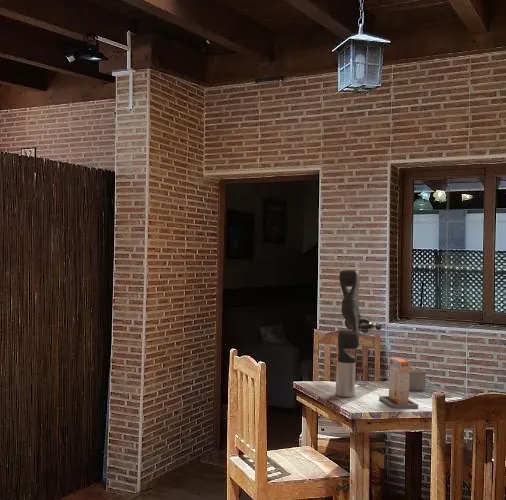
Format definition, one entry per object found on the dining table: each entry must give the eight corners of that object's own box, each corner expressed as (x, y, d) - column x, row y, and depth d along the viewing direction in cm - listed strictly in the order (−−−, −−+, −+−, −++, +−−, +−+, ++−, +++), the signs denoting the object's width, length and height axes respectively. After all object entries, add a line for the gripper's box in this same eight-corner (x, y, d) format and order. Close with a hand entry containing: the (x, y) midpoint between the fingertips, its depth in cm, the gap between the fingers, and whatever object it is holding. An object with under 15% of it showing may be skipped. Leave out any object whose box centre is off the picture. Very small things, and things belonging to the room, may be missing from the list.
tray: (392, 408, 316) (392, 404, 316) (379, 399, 336) (379, 396, 336) (418, 408, 318) (418, 404, 318) (403, 399, 337) (403, 396, 337)
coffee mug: (423, 387, 374) (424, 369, 374) (426, 390, 364) (426, 372, 364) (399, 386, 375) (400, 368, 376) (401, 389, 366) (401, 371, 366)
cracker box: (409, 405, 322) (410, 361, 323) (397, 404, 322) (398, 361, 322) (399, 399, 336) (401, 357, 336) (388, 398, 335) (389, 357, 336)
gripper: (350, 317, 372) (358, 320, 356) (374, 318, 374) (384, 321, 357) (349, 331, 372) (358, 334, 355) (374, 331, 373) (383, 335, 357)
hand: (371, 328), depth 356 cm, fingers open, 8 cm apart
